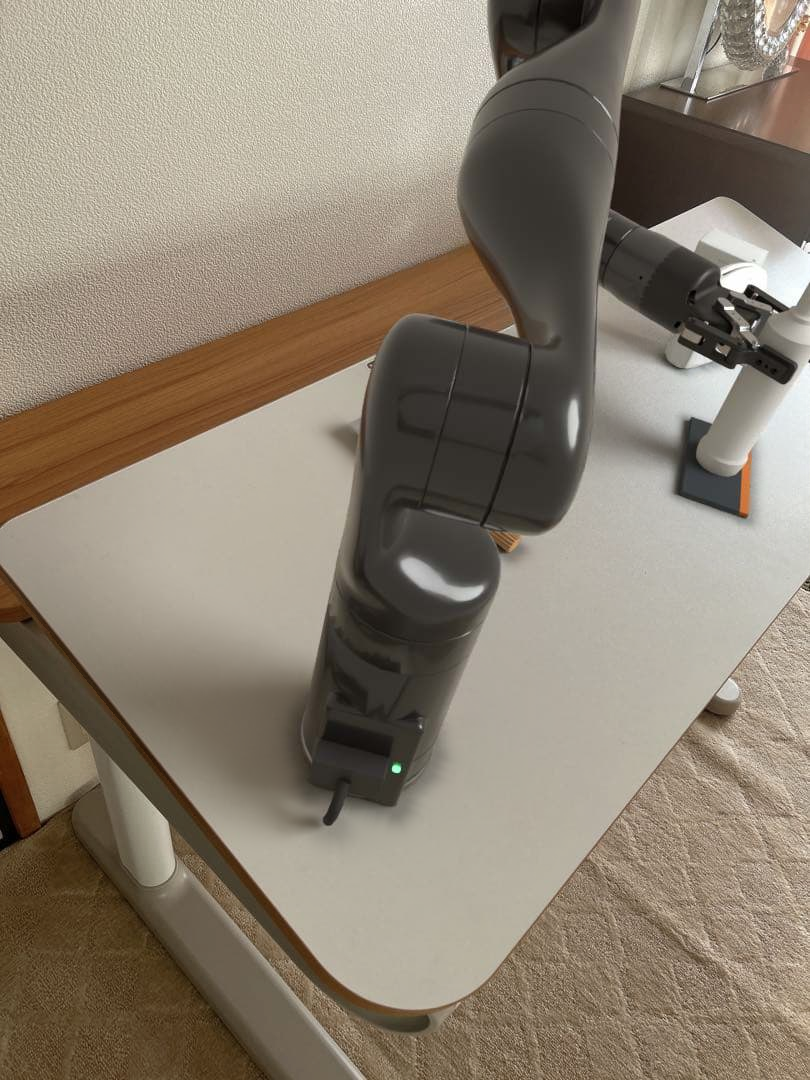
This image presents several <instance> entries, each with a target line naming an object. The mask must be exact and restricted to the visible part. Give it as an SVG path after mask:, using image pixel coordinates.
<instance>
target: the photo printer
mask: <svg viewBox="0 0 810 1080" xmlns="http://www.w3.org/2000/svg"><path fill="white" fill-rule="evenodd" d="M720 271H721V277H720V283H721V286H722V287H725V288H727V289H730V290H733V291H736V292H739V293H743V292H744V291H745V289H746V287H747V285H749V284H751V285H754V286H756V287H758V288H759V289H761V290H762V291H764V292H766V288H767V285H768V274H767V271H766V270H765V269H764V268H762V267H761V268H759V267H758V266H757V265H756V264H753V263H746V262H743V263H734V264H730V265H727V266H724V267H721V268H720ZM679 336H680V334H674V333H672V335H671V337H670V339H669V341H668V343H667V345H666V348H665V350H664V354H665V358H666V360H667V361H668V362H669V363H670V364H672V365H673V366H675V367H677V368H679V369H685V370H686V369H687V370H688V369H693V368H697V367H701V366H703V365H707V364H709V363H712V362H714V361H712V360H710V359H708V358H706V357H704V356H702V355H700V354H698V353H696V352H695V351H693V350H691V349H689V348H687V347H685V346H683V345H681V344H679V343H678V341H677V340H678V338H679ZM716 350H717V351H718V352H720V351H719V350H718V349H717V348H716ZM720 353H721V352H720ZM726 356H727V355H726Z"/></svg>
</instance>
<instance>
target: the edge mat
mask: <svg viewBox="0 0 810 1080" xmlns="http://www.w3.org/2000/svg"><path fill="white" fill-rule="evenodd" d="M712 424H713V423H711V422H708V421H705V420H702V419H700V418H697V417H694V416H691V417H690V419H689V422H688V427H687V428H688V430H687V436H686V437H687V438H686V445H685V453H684V460H683V467H682V474H681V475H682V476H681V482H680V483H681V484H680V490H679V492H680V493H679V496H681V497H685V498H688V499H690V500H692V501H696V502H699V503H701V504H704V505H706V506H710V507H713V508H716V509H718V510H720V511H723V512H726V513H730V514H732V515H735V516H738V517H740V518H744V519H747V518H748V517H749V516H750V499H751V498H750V497H751V495H750V493H751V473H752V472H751V470H752V449H751V450H750V452H749V454H748V460H747V462H746V463H745V465H744V466H743V467H742V469H741V470H740V471H739V472H738V473H737V474H735V475H733V476H729V477H726V476H719V475H716V474H713V473H711V472H709V471H708V470H706V469H705V468H703V467H702V466H701V465H700V464H699V462H698V460H697V458H696V451H697V447H698V444H699V442H700V440H701V438H702V437H704V436H705V435H707V433H708V431H709V429H710V427H711V426H712Z"/></svg>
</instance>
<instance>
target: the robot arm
mask: <svg viewBox="0 0 810 1080" xmlns="http://www.w3.org/2000/svg"><path fill="white" fill-rule="evenodd" d="M641 5H642V0H486V24H487V36H488V42H489V43H488V44H489V48H490V54H491V61H492V65H493V71H494V77H495V84H493V86H492V87H491V88H490V89H489V90H488V91H487V93H486V95H485V96H484V98H483V99H482V101H481V102H480V104H479V106H478V107H477V109H476V112H475V114H474V118H473V120H472V123H471V127H470V131H469V134H468V137H467V142H466V145H465V149H464V152H463V156H462V160H461V163H460V166H459V170H458V175H457V179H456V202H457V203H456V204H457V207H458V212H459V213H458V214H459V216H460V217H459V218H460V219H461V222H462V225H463V229H464V232H465V234H466V236H467V239H468V241H469V243H470V245H471V247H472V248H473V250H474V252H475V254H476V257H477V258H478V260H479V262H480V264H481V265H482V267H483V269H484V271H485V272H486V274H487V276H488V277H489V279H490V280H491V282H492V284H493V286H494V287H495V288H496V290H497V292H498V293H499V295H500V296H501V298H502V300H503V302H504V304H505V305H506V307H507V309H508V311H509V313H510V315H511V318H512V321H513V323H514V327H515V330H516V335H517V336H513V335H510V334H505V333H503V332H498V331H495V330H491V329H488V328H484V327H480V326H476V325H472V324H467V323H464V322H461V321H457V320H454V319H449V318H445V317H441V316H437V315H432V314H428V313H419V312H413V313H409V314H406V315H404V316H401V318H400V319H398V320H396V322H395V323H394V324H393V325H392V326H391V328H389V330H388V331H387V333H386V334H384V337H383V339H382V341H381V342H380V344H379V347H378V349H377V351H376V354H375V355H374V359H373V362H372V365H371V367H370V372H369V375H368V379H367V382H366V383H367V384H366V387H365V391H364V395H363V402H362V408H361V414H360V418H361V419H360V425H359V433H358V434H357V442H356V450H355V458H354V466H353V473H352V474H353V475H352V482H351V489H350V496H349V502H348V507H347V513H346V517H345V523H344V527H343V532H342V536H341V540H340V544H339V549H338V553H337V557H336V560H335V568H334V573H333V577H332V582H331V587H330V591H329V595H328V599H327V605H326V611H325V614H324V619H323V623H322V629H321V633H320V638H319V643H318V647H317V652H316V658H315V661H314V666H313V672H312V676H311V682H310V686H309V691H308V696H307V701H306V708H305V709H304V711H303V714H302V719H301V724H300V729H299V741H300V748H301V751H302V754H303V756H304V759H305V761H306V764H307V765H308V766H309V769H310V770H309V775H308V778H307V782H308V783H309V784H310V785H312V786H316V787H320V788H324V789H327V790H330V791H334V793H333V796H332V798H331V801H330V804H329V806H328V809H327V810H326V813H325V814H324V815H323V817H322V823H323V824H324V825H325V826H327V827H330V826H333V824H334V823H335V822H336V820H337V819H338V818H339V815H340V813H341V811H342V809H343V806H344V804H345V801H346V798H347V796H350V797H354V798H357V799H363V800H367V801H371V802H373V803H374V802H375V803H379V804H382V805H386V806H389V807H396V806H397V804H398V802H399V800H400V797H401V794H402V793H403V792H404V791H406V790H408V789H409V788H410V787H412V786H413V785H414V784H415V783H416V782H418V781H419V780H420V779H421V777H422V776H423V774H424V773H425V771H426V769H427V767H428V765H429V763H430V761H431V757H432V755H433V750H434V747H435V744H436V741H437V739H438V736H439V734H440V732H441V729H442V726H443V724H444V721H445V718H446V716H447V714H448V711H449V709H450V706H451V704H452V702H453V700H454V697H455V694H456V692H457V689H458V687H459V685H460V682H461V680H462V677H463V675H464V673H465V670H466V668H467V665H468V663H469V660H470V658H471V655H472V653H473V650H474V648H475V646H476V643H477V641H478V639H479V636H480V634H481V631H482V629H483V626H484V624H485V622H486V619H487V617H488V614H489V612H490V610H491V607H492V605H493V602H494V601H495V597H496V595H497V594H498V593H497V592H498V590H499V588H500V587H499V586H500V584H501V583H500V582H501V578H502V577H501V576H502V561H501V556H500V551H499V549H498V546H497V543H496V542H495V541H494V539H493V538H492V536H491V535H490V533H489V532H488V530H487V529H489V530H493V531H497V532H502V533H507V534H514V535H520V536H521V537H537V536H538V537H540V536H542V535H545V534H546V533H547V534H548V533H549V532H550V531H552V530H553V529H555V528H556V527H558V525H559V524H560V523H561V522H562V521H563V520H564V518H565V517H566V515H567V514H568V512H569V511H570V509H571V507H572V505H573V503H574V502H575V499H576V497H577V494H578V492H579V488H580V486H581V483H582V479H583V476H584V472H585V469H586V465H587V461H588V457H589V450H590V445H591V439H592V433H593V426H594V425H593V424H594V414H595V401H596V381H597V380H596V379H597V343H598V342H597V341H598V339H597V338H598V300H599V299H598V297H599V287H601V288H602V289H604V290H605V291H607V292H608V293H610V294H611V295H612V296H613V297H614V298H616V299H617V300H618V301H619V302H621V303H622V304H623V305H626V306H627V307H629V308H630V309H632V310H634V311H635V312H637V313H639V314H640V315H642V316H643V317H645V318H647V319H649V321H652V322H653V323H655V324H657V325H658V326H660V327H662V328H663V329H665V330H667V331H668V332H670V333H672V334H673V333H674V334H680V336H679V338H678V340H677V341H678V343H679V344H681V345H683V346H685V347H687V348H689V349H691V350H693V351H695V352H696V353H698V354H700V355H702V356H704V357H706V358H708V359H710V360H712V361H713V362H714V363H716V364H718V365H720V366H721V367H724V368H725V369H728V370H735V369H736V367H737V365H739V366H741V367H749V366H751V367H753V368H755V369H756V370H758V371H760V372H762V373H763V374H765V375H767V376H768V377H770V378H772V379H773V380H775V381H777V382H778V383H780V384H783V385H784V384H787V383H788V382H789V381H790V380H791V379H792V377H793V375H794V374H795V372H796V371H797V369H798V364H797V363H796V362H795V361H793V360H791V359H790V358H788V357H786V356H784V355H783V354H781V353H779V352H777V351H776V350H774V349H772V348H771V347H769V346H767V345H765V344H764V345H763V346H762V347H760V346H761V342H760V341H759V340H758V337H759V335H760V333H761V331H762V329H763V327H764V325H765V324H766V322H767V320H768V318H769V317H770V316H771V315H773V314H777V313H781V312H785V311H789V309H790V307H789V306H787V305H786V304H784V303H783V302H781V301H779V300H778V299H777V298H775V297H773V296H772V295H770V294H769V293H767V292H766V291H762V290H761V289H759V288H758V287H756V286H754V285H751V284H749V285H747V287H746V289H745V291H744V292H743V293H739V292H736V291H733V290H730V289H727V288H725V287H722V286H721V283H720V277H721V271H720V268H719V266H717V265H716V264H714V263H713V262H711V261H709V260H707V259H705V258H704V257H702V256H700V255H698V254H696V253H694V251H693V250H691V249H689V248H687V247H685V246H683V245H682V244H680V243H679V242H676V241H675V240H673V239H671V238H669V237H667V236H666V235H664V234H663V233H659V232H658V231H657V232H656V231H653V230H650V229H648V228H646V227H645V226H642V225H641V224H638V223H637V222H635V221H634V220H631V219H630V218H628V217H626V216H624V215H622V214H621V213H619V212H618V211H616V210H613V209H612V208H611V204H612V199H613V193H614V187H615V179H616V173H617V164H618V158H619V157H618V155H619V145H620V143H619V142H620V130H621V129H620V128H621V114H622V102H623V92H624V91H623V90H624V83H625V82H624V81H625V77H626V76H625V75H626V71H627V66H628V62H629V59H630V58H629V57H630V53H631V49H632V45H633V40H634V36H635V31H636V27H637V23H638V17H639V14H640V10H641ZM755 322H756V323H755ZM716 348H717V349H718V350H719V351H720V352H721V353H720V352H718V351H717V350H716ZM726 355H727V356H726ZM807 364H810V359H809V361H808V362H807Z"/></svg>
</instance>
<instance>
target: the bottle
mask: <svg viewBox="0 0 810 1080" xmlns="http://www.w3.org/2000/svg"><path fill="white" fill-rule="evenodd" d="M789 308H790V309H789V311H785V312H781V313H778V312H776V313H777V314H773V315H771V316H770V317H769V318H768V320H767V322H766V324H765V325H764V327H763V329H762V331H761V333H760V335H759V337H758V340H759V341H760V342H761V346H760V347H762V346H763V345H764V344H765V345H767V346H769V347H771V348H772V349H774V350H776V351H777V352H779V353H781V354H783V355H784V356H786V357H788V358H790V359H791V360H793V361H795V362H796V363H797V364H798V369H797V371H796V372H795V374H794V375H793V377H792V379H791V380H790V381H789V382H788V383H787V384H784V385H783V384H780V383H778V382H777V381H775V380H773V379H772V378H770V377H768V376H767V375H765V374H763V373H762V372H760V371H758V370H756V369H755V368H753V367H751V366H749V367H743V366H741V369H740V370H739V373H738V374H737V376H736V379H735V380H734V382H733V384H732V386H731V388H730V390H729V391H728V394H727V395H726V398H725V399H724V401H723V403H722V405H721V406H720V409H719V411H718V412H717V415H716V416H715V417H714V420H713V422H712V423H711V424H712V426H711V427H710V429H709V431H708V433H707V435H705V436H704V437H702V438H701V440H700V442H699V444H698V447H697V451H696V458H697V460H698V462H699V464H700V465H701V466H702V467H703V468H705V469H706V470H708V471H709V472H711V473H713V474H716V475H719V476H726V477H729V476H733V475H735V474H737V473H738V472H739V471H740V470H741V469H742V467H743V466H744V465H745V463H746V462H747V460H748V454H749V452H750V450H751V451H752V449H753V448H754V446H755V444H756V443H757V441H758V440H759V438H760V437H761V435H762V433H763V432H764V430H765V429H766V428H767V426H768V425H769V423H770V421H772V418H773V417H774V415H775V413H776V412H777V411H778V409H779V407H780V406H781V405H782V403H783V401H784V400H785V398H786V397H787V395H788V393H789V392H790V390H791V389H792V388H793V386H794V384H795V382H796V381H797V379H798V378H799V376H800V375H801V373H802V371H803V370H805V369H804V368H805V367H806V366H807V364H808V361H809V359H810V281H809V282H808V284H807V285H806V287H805V289H804V291H803V293H802V294H801V296H800V298H799V299H798V301H797V303H796V305H792V306H790V307H789Z"/></svg>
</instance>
